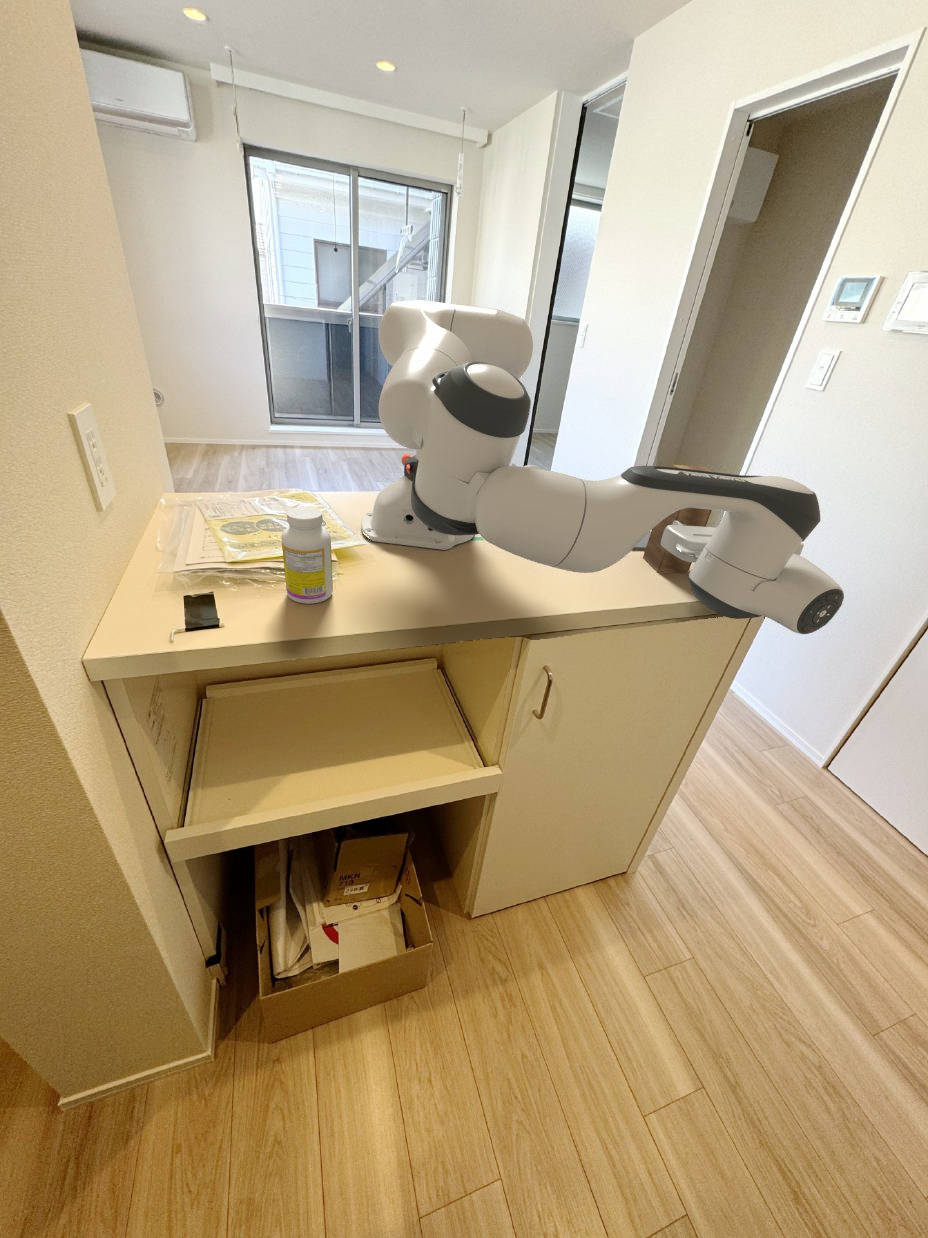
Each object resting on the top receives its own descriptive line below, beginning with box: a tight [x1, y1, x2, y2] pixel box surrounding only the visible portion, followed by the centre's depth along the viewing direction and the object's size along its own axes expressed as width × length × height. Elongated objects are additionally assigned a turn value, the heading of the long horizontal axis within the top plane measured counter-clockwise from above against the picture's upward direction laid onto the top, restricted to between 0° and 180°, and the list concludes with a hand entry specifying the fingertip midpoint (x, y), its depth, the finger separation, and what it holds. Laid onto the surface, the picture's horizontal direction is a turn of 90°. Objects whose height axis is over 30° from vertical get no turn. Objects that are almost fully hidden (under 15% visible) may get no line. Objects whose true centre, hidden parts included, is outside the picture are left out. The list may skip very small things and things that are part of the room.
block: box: [642, 464, 714, 574], centre depth 95 cm, size 6×6×19 cm
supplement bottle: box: [280, 506, 334, 605], centre depth 72 cm, size 7×7×13 cm
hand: (700, 526), depth 90 cm, fingers open, 8 cm apart
